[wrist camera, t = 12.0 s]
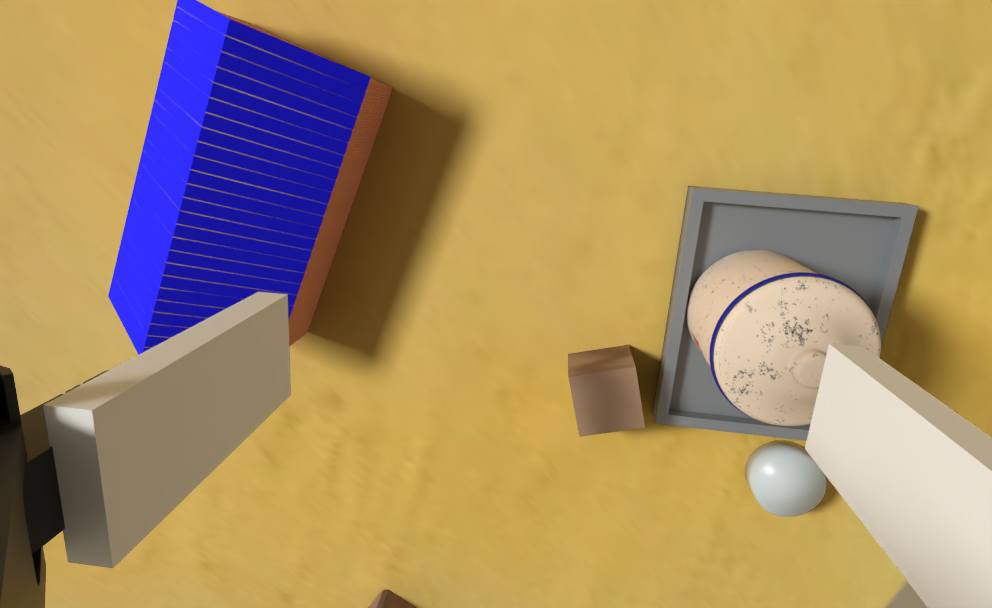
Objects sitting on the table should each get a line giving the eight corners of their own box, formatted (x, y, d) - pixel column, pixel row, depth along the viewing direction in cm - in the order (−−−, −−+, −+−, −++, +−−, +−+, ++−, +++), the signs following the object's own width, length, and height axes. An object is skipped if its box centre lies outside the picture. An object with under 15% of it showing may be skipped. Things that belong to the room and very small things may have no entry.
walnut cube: (628, 344, 45) (635, 367, 40) (637, 400, 46) (645, 427, 41) (568, 353, 45) (568, 376, 41) (578, 408, 46) (579, 436, 42)
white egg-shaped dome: (819, 443, 45) (833, 460, 43) (805, 501, 47) (817, 520, 44) (751, 435, 46) (761, 451, 43) (738, 493, 47) (747, 512, 45)
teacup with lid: (660, 343, 43) (694, 416, 32) (716, 225, 41) (774, 260, 30) (817, 402, 43) (905, 495, 32) (883, 287, 41) (1004, 346, 30)
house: (400, 85, 41) (340, 68, 30) (311, 336, 47) (233, 399, 36) (238, 13, 41) (118, -32, 30) (169, 274, 47) (47, 318, 36)
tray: (905, 203, 40) (918, 206, 38) (845, 435, 45) (855, 445, 43) (688, 186, 41) (693, 188, 39) (652, 413, 46) (655, 423, 44)
